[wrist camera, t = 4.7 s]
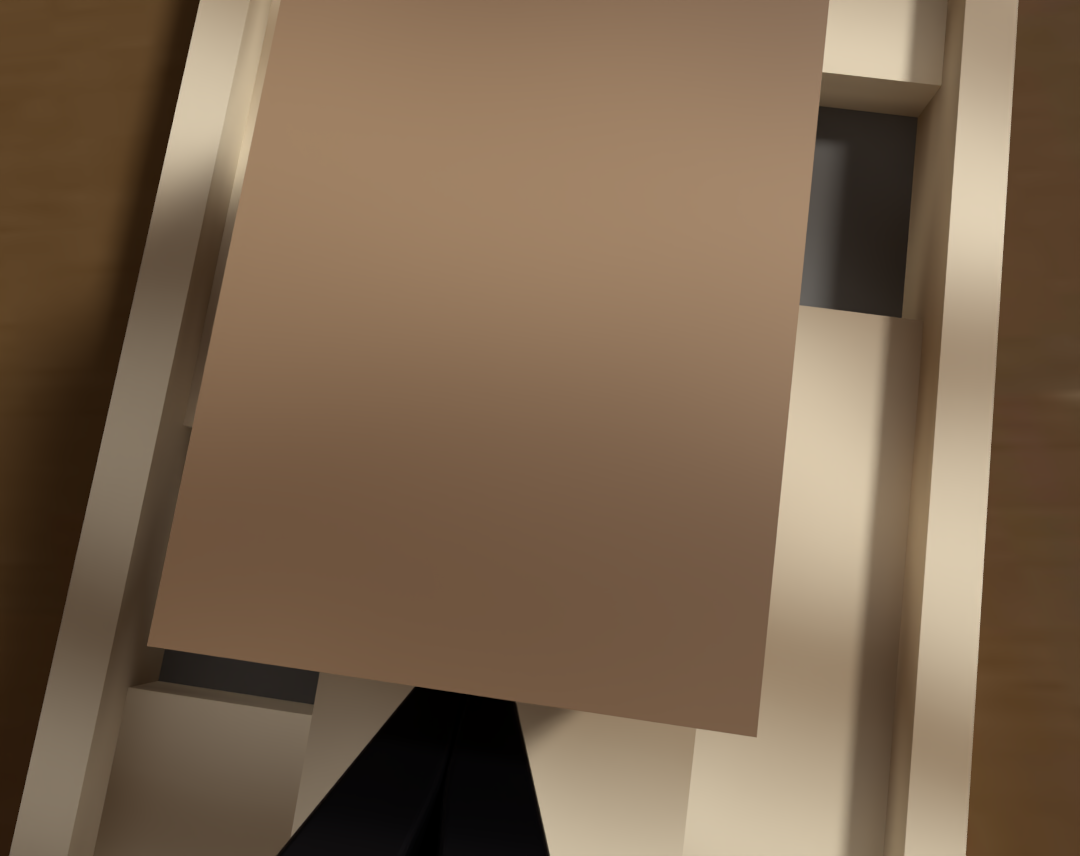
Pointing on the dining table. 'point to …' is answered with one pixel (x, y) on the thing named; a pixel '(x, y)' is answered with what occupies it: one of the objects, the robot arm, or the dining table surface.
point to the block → (508, 353)
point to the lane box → (802, 534)
